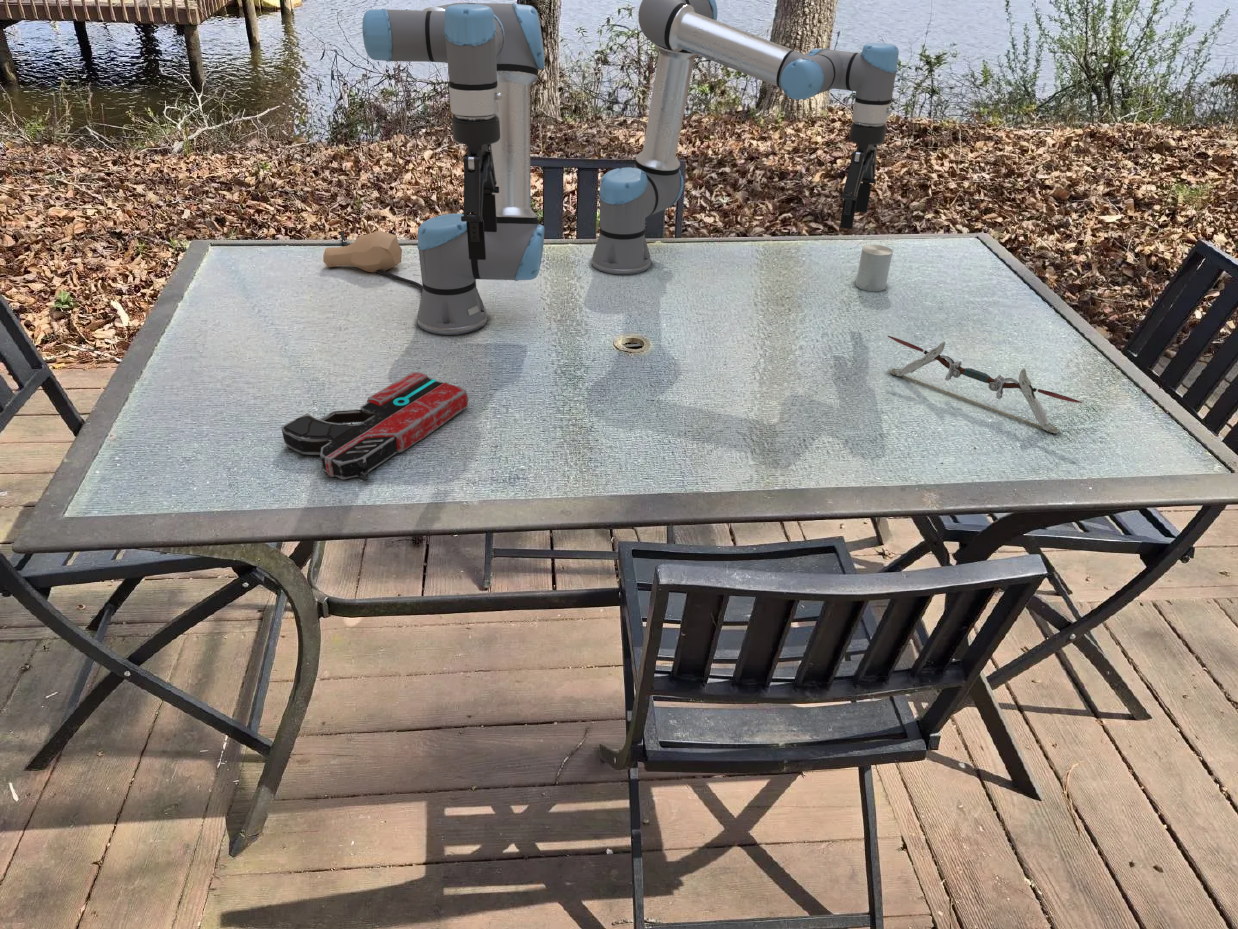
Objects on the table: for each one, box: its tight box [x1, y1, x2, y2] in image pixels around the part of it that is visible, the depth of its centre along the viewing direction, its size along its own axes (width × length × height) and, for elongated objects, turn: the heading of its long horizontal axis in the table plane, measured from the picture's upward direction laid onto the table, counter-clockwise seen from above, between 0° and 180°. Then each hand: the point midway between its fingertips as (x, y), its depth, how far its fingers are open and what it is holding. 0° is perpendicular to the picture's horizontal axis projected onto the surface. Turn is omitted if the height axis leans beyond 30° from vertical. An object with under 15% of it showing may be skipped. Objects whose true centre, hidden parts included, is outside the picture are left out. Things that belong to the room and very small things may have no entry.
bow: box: [887, 335, 1083, 434], centre depth 169 cm, size 39×2×10 cm, turn 47°
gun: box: [280, 371, 469, 481], centre depth 156 cm, size 4×31×19 cm
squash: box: [322, 230, 403, 273], centre depth 220 cm, size 11×20×9 cm, turn 90°
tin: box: [855, 244, 894, 292], centre depth 218 cm, size 7×7×9 cm
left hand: (483, 244), depth 151 cm, fingers open, 13 cm apart
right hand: (853, 219), depth 201 cm, fingers open, 13 cm apart
